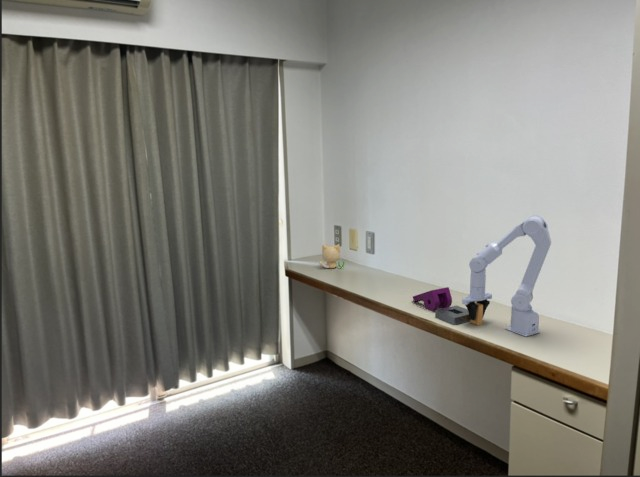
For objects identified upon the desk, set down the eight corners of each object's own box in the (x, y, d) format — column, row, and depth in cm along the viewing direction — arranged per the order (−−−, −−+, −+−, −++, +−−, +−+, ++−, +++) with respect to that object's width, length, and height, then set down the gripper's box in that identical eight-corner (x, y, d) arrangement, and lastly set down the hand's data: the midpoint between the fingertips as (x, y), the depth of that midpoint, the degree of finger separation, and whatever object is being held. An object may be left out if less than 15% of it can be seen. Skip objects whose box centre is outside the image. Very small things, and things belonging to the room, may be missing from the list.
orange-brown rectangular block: (482, 324, 187) (483, 304, 186) (478, 325, 186) (478, 305, 185) (474, 321, 191) (475, 302, 189) (470, 322, 190) (471, 303, 188)
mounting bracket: (413, 315, 216) (437, 309, 201) (408, 297, 218) (431, 290, 202) (429, 312, 220) (454, 305, 205) (424, 294, 222) (448, 287, 207)
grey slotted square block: (476, 319, 192) (476, 312, 192) (454, 325, 187) (454, 317, 186) (456, 312, 202) (456, 305, 201) (435, 317, 196) (435, 310, 196)
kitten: (345, 266, 290) (344, 242, 287) (343, 270, 280) (343, 245, 278) (321, 266, 292) (320, 242, 289) (319, 269, 282) (318, 245, 279)
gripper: (482, 280, 193) (481, 312, 195) (456, 286, 186) (455, 319, 188) (496, 284, 186) (495, 317, 189) (470, 290, 180) (469, 324, 182)
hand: (476, 318), depth 188 cm, fingers open, 4 cm apart
